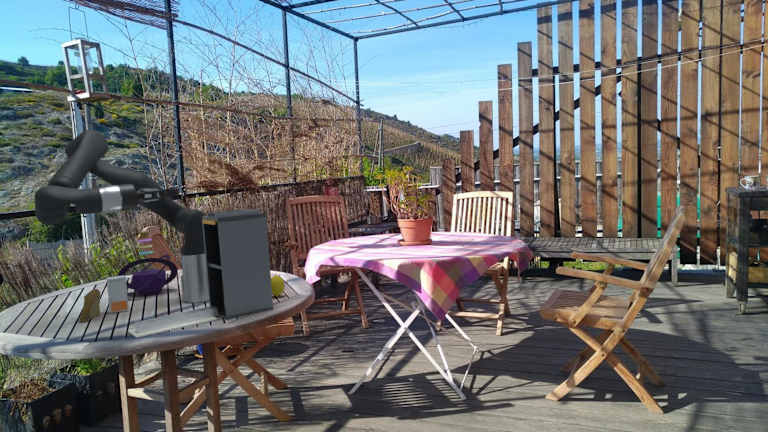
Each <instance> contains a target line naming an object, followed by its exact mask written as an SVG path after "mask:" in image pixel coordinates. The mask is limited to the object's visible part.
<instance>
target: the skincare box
mask: <svg viewBox="0 0 768 432" xmlns="http://www.w3.org/2000/svg"><path fill="white" fill-rule="evenodd" d="M126 281H127V276H126V274H125V275H124V276H118V275H117V276H109V277H106V285H107V287H106V288H107V296H108V297H107V299H108V307H109V308H108V309H109V314H113V313H121V312H129V310H130V309H129V308H130V307H129V300H128V299H129V298H128V297H129V296H127V285H126Z"/></svg>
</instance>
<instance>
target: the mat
mask: <svg viewBox="0 0 768 432" xmlns="http://www.w3.org/2000/svg"><path fill="white" fill-rule="evenodd" d="M217 320H219V319H218V318H217V317H216V316H213V317H209V318H204V319H200V320H195V321H191V322H187V323H182V324H178V325H174V326H169V327H165V328H160V329H156V330H152V331H147V332H143V333H138V332H137V331H135V328H133V329H128V330H127V332H128V333H129V334H131V335H132V336H133V337H135V338H137V339H138V338H141V337H145V336H146V337H147V336H151V335H155V334H158V333H164V332H169V331H173V330H177V329H181V328H186V327H191V326H195V325H199V324H204V323H208V322H211V321H212V322H213V321H217Z"/></svg>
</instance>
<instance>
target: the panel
mask: <svg viewBox="0 0 768 432" xmlns="http://www.w3.org/2000/svg"><path fill="white" fill-rule="evenodd" d="M213 316H214V317H216V316H218V308H217V307H214V306H204V307H200V308H195V309H190V310H187V311H182V312H176V313H172V314H169V315H163V316H158V317H153V318H149V319H148V318H147V319H144V320H140V321H134V329H135V331H137V332H138V333H143V332H147V331H152V330H156V329H160V328H165V327H169V326H174V325H178V324H182V323H187V322H191V321H195V320H200V319H204V318H209V317H213Z"/></svg>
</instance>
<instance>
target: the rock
mask: <svg viewBox="0 0 768 432" xmlns="http://www.w3.org/2000/svg"><path fill="white" fill-rule="evenodd" d="M83 298H84V299H83V300H84V302H83V305H82V306H83V307H82V308H81V311H80V315H79V316H80V317H79V320H78V322H79V323H86V322H88V321H91V320H93V319H94V318H97V317H98V316H100V315H101V309H100V308H101V307H100V304H101V291H100V289H97V288H96V289H92V290H90V291H89V292H88V293H86V294H85V295H84V296H83Z"/></svg>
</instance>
